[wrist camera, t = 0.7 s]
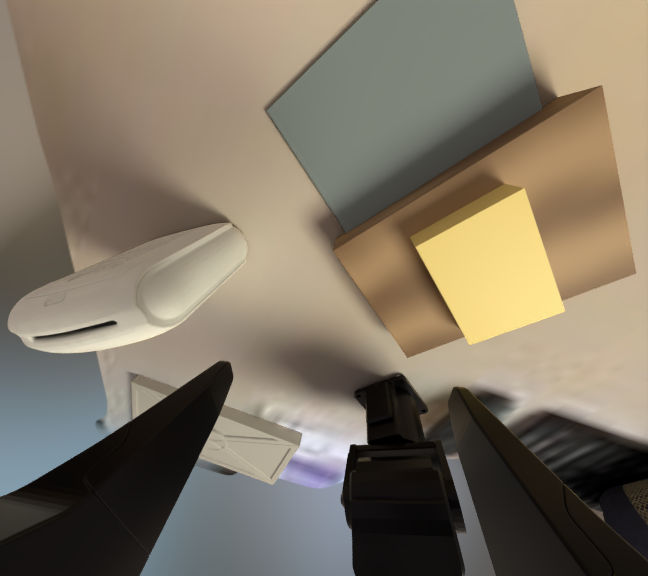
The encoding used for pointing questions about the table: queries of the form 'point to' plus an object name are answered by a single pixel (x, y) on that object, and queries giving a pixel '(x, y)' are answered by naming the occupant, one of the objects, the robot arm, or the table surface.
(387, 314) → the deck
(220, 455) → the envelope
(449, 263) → the pale yellow foam brick
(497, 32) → the mat
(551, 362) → the table surface
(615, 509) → the portable speaker
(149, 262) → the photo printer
